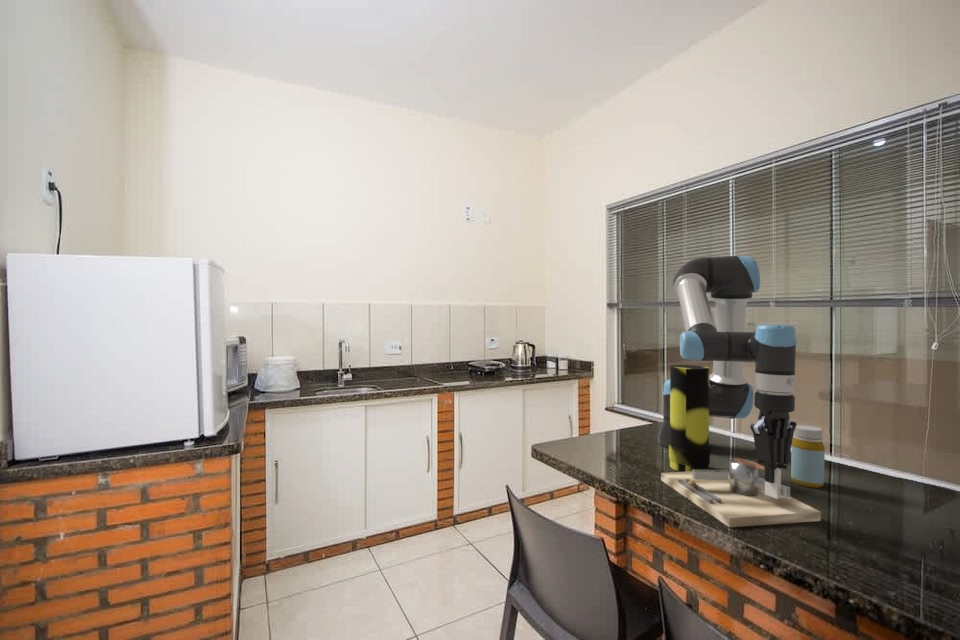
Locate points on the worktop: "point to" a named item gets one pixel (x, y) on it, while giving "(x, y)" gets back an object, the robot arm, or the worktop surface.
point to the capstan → (739, 477)
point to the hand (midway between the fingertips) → (772, 496)
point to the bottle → (807, 456)
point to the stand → (739, 502)
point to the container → (689, 418)
